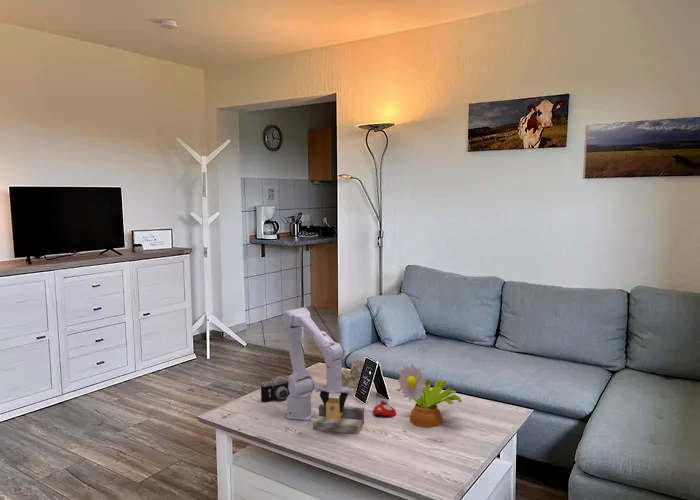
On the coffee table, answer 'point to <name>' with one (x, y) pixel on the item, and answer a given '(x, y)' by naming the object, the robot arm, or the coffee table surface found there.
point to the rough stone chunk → (352, 375)
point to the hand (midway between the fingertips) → (334, 411)
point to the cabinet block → (333, 408)
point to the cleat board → (341, 421)
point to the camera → (275, 389)
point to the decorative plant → (424, 397)
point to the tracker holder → (384, 409)
